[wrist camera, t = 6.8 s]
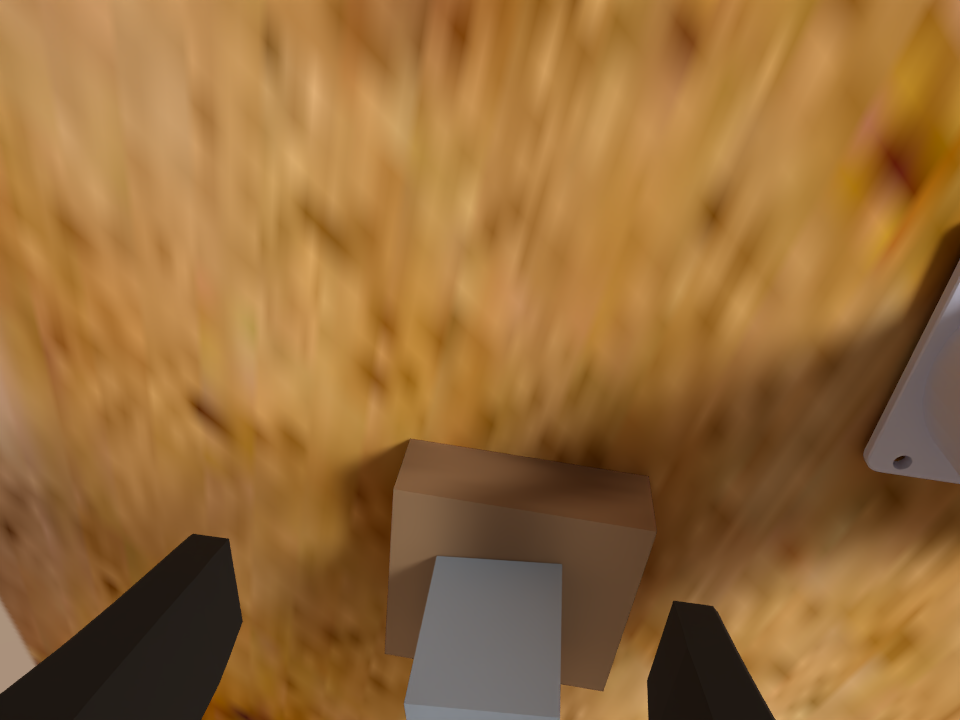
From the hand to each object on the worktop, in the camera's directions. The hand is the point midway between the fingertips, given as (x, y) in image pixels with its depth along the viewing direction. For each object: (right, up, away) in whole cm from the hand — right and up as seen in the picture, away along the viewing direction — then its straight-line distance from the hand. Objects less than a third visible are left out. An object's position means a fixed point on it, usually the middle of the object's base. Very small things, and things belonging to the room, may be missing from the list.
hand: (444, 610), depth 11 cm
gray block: (+1, -4, +11) cm, 12 cm away
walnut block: (+2, -2, +14) cm, 14 cm away
